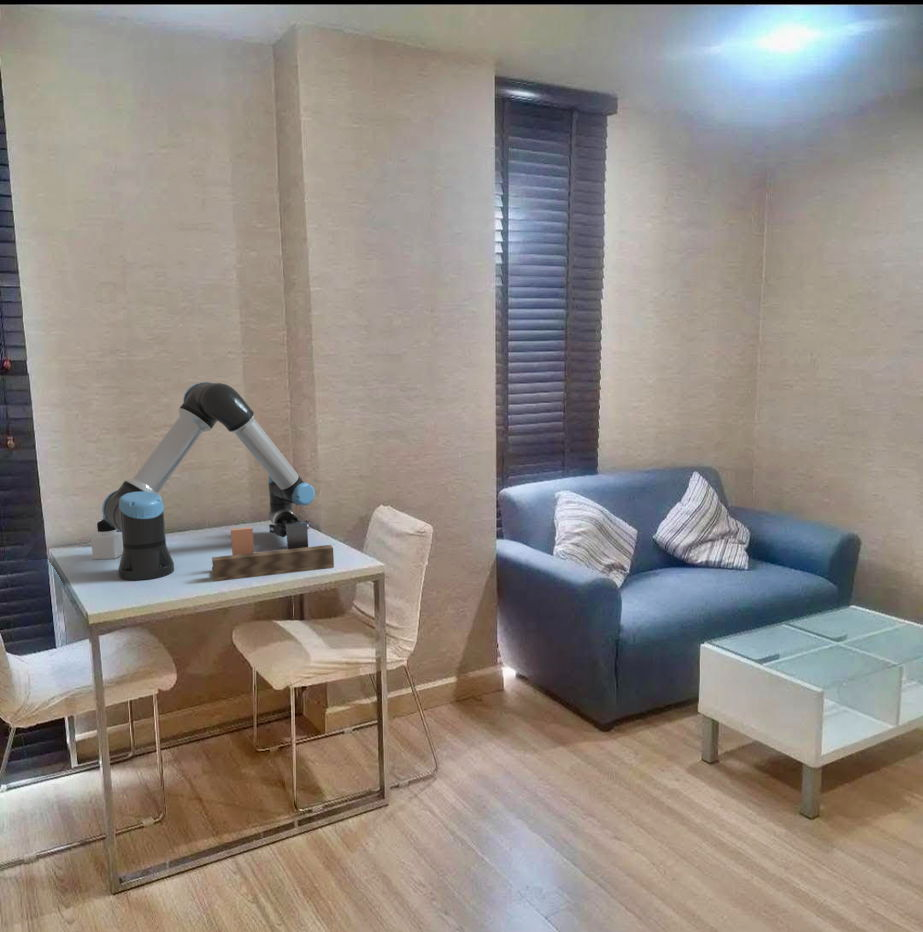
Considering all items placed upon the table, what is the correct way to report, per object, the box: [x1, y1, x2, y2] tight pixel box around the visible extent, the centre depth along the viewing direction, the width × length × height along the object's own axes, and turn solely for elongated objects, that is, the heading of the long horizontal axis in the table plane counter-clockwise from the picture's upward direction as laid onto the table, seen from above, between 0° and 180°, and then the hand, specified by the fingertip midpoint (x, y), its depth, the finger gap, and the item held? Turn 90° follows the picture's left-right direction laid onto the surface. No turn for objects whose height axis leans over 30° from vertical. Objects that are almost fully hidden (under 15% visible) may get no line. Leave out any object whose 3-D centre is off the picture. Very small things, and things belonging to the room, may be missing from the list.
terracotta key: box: [230, 526, 255, 555], centre depth 229 cm, size 6×2×11 cm, turn 111°
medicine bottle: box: [90, 518, 123, 560], centre depth 247 cm, size 7×7×12 cm
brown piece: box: [211, 544, 335, 582], centre depth 229 cm, size 34×12×6 cm, turn 111°
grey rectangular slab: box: [286, 521, 309, 549], centre depth 234 cm, size 6×2×11 cm, turn 111°
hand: (297, 537), depth 239 cm, fingers closed
